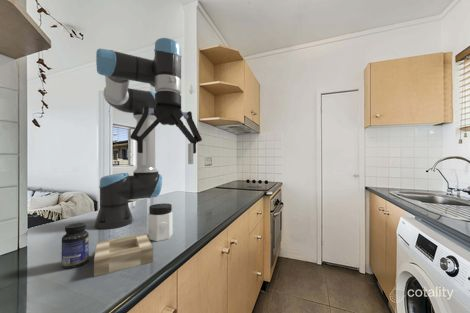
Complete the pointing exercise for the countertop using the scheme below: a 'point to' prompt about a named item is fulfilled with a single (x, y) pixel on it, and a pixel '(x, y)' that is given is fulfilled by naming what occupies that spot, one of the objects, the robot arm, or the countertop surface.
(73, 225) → the pill bottle
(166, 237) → the jar
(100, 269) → the jig
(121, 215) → the robot arm
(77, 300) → the countertop surface
